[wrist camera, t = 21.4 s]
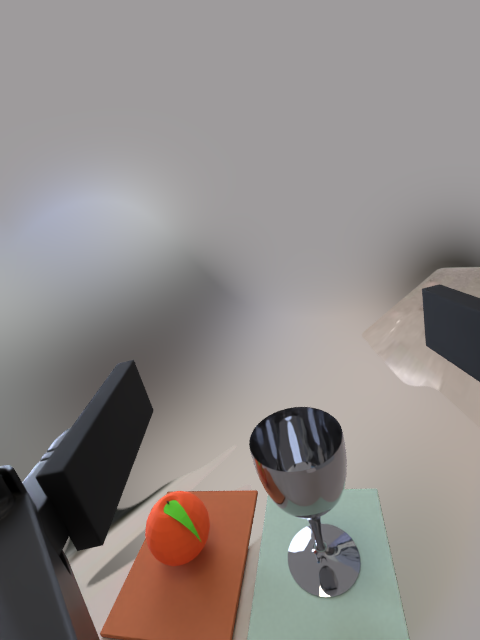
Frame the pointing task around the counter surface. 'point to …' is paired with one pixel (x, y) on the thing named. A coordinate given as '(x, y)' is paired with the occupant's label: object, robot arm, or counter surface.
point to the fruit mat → (189, 581)
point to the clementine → (177, 528)
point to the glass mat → (337, 612)
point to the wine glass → (308, 494)
